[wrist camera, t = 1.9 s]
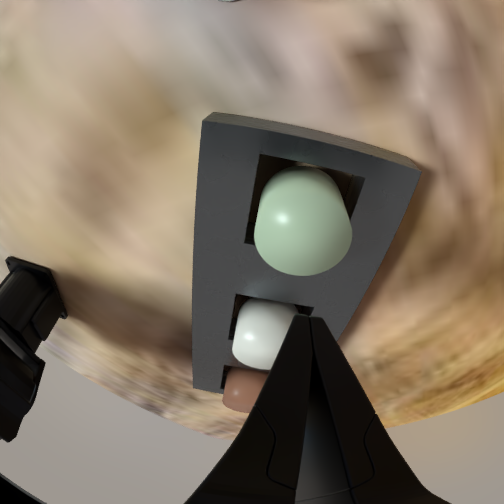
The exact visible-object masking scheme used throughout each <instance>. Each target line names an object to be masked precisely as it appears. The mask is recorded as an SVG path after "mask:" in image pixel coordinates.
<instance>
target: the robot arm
mask: <svg viewBox="0 0 504 504" xmlns="http://www.w3.org/2000/svg"><path fill="white" fill-rule="evenodd" d="M5 261H6V264H7V266H8V269H9V271H10V273H9V274H8V275H7V276H6V278H5V279H4V280H3V281H2V283H1V284H0V440H1V439H3V440H5V441H6V442H10V441H12V440H13V439H14V438H15V437H16V436H17V433H18V430H19V427H20V424H21V422H22V419H23V417H24V415H26V414H27V413H28V412H29V410H30V409H31V407H32V406H33V403H34V401H35V398H36V395H37V391H38V387H39V383H40V380H41V377H42V373H43V370H44V367H45V362H44V361H43V360H42V359H40V358H39V357H38V356H36V354H35V352H36V350H37V349H38V347H39V345H40V343H41V342H42V341H45V340H46V339H47V337H48V336H49V334H50V332H51V330H52V329H53V327H54V325H55V324H56V322H57V320H58V319H59V317H60V318H62V319H66V318H67V316H68V314H67V312H66V309H65V307H64V305H63V302H62V300H61V298H60V295H59V293H58V290H57V288H56V285H55V282H54V280H53V277H52V274H51V272H50V271H49V270H47V269H45V268H42V267H39V266H36V265H32V264H29V263H26V262H23V261H20V260H17V259H14V258H11V257H7V259H6V260H5ZM0 504H46V503H45V502H43V501H41V500H40V499H38V498H36V497H35V496H33V495H32V494H30V493H28V492H27V491H25V490H24V489H22V488H21V487H19V486H18V485H16V484H15V483H13V482H12V481H11V480H9V479H8V478H6V477H5V476H4V475H2V474H1V473H0ZM184 504H451V503H449V502H447V501H445V500H443V499H441V498H440V497H438V496H436V495H434V494H432V493H431V492H430V491H428V490H427V489H426V488H425V487H424V486H423V485H422V484H421V482H420V481H419V480H418V478H417V477H416V476H415V474H414V473H413V471H412V470H411V468H410V467H409V465H408V464H407V462H406V461H405V460H404V458H403V457H402V455H401V454H400V452H399V451H398V449H397V448H396V446H395V445H394V443H393V441H392V440H391V438H390V437H389V435H388V433H387V432H386V430H385V428H384V426H383V424H382V423H381V421H380V419H379V417H378V415H377V414H375V410H374V408H373V406H372V404H371V403H370V401H369V399H368V397H367V395H366V393H365V392H364V390H363V388H362V386H361V384H360V383H359V381H358V379H357V377H356V375H355V374H354V372H353V370H352V368H351V366H350V365H349V363H348V361H347V359H346V358H345V356H344V354H343V352H342V350H341V349H340V347H339V345H338V343H337V342H336V340H335V338H334V336H333V335H332V333H331V331H330V329H329V328H328V326H327V324H326V323H325V321H324V319H323V318H322V317H317V316H309V317H308V316H307V315H303V314H295V315H294V317H293V319H292V322H291V324H290V326H289V329H288V331H287V333H286V336H285V338H284V340H283V343H282V345H281V347H280V349H279V352H278V354H277V356H276V358H275V361H274V363H273V365H272V367H271V369H270V372H269V374H268V376H267V378H266V380H265V382H264V385H263V387H262V389H261V391H260V393H259V395H258V397H257V399H256V402H255V404H254V406H253V407H252V409H251V411H250V414H249V416H248V418H247V419H246V421H245V423H244V425H243V427H242V428H241V430H240V432H239V434H238V435H237V437H236V438H235V440H234V441H233V443H232V444H231V446H230V447H229V449H228V450H227V451H226V453H225V454H224V455H223V457H222V458H221V459H220V460H219V462H218V463H217V464H216V466H215V467H214V468H213V469H212V471H211V472H210V473H209V474H208V476H207V477H206V478H205V480H204V481H203V482H202V483H201V484H200V486H199V487H198V488H197V489H196V490H195V492H194V493H193V494H192V495H191V496H190V497H189V498H188V500H187V501H186V502H185V503H184Z"/></svg>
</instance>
